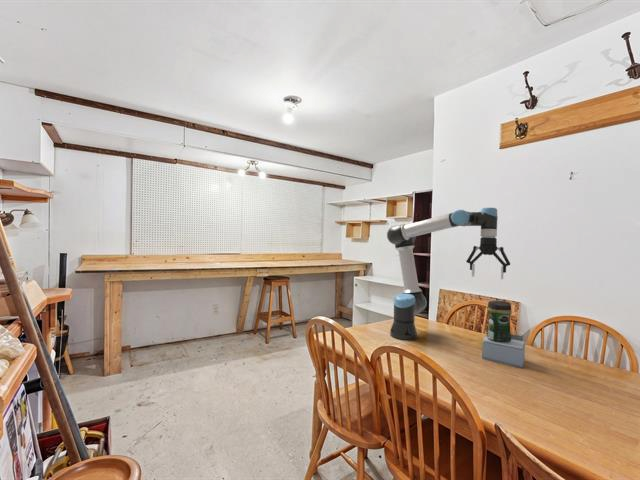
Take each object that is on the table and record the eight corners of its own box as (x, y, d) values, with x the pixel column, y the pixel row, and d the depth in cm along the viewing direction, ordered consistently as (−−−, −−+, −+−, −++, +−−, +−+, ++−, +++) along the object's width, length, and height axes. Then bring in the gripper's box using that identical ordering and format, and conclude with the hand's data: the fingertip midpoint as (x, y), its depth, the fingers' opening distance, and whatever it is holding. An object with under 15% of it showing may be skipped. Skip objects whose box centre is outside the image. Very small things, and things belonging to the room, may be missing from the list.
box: (481, 358, 146) (482, 342, 145) (486, 351, 155) (487, 335, 155) (522, 368, 136) (522, 350, 136) (524, 360, 145) (525, 343, 145)
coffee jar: (503, 337, 150) (504, 299, 149) (513, 343, 142) (515, 303, 141) (483, 336, 150) (485, 299, 149) (492, 342, 142) (494, 302, 141)
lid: (483, 341, 146) (483, 334, 146) (487, 335, 155) (487, 329, 155) (522, 349, 136) (522, 342, 136) (524, 342, 145) (524, 336, 145)
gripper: (461, 236, 166) (460, 275, 166) (515, 237, 150) (514, 280, 150) (464, 236, 171) (463, 274, 172) (517, 237, 156) (516, 279, 156)
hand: (487, 277), depth 161 cm, fingers open, 13 cm apart
